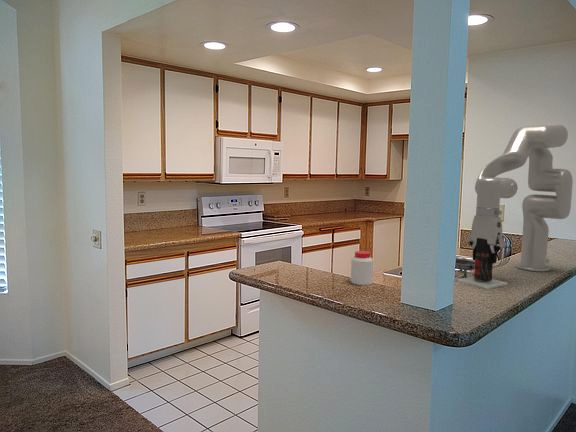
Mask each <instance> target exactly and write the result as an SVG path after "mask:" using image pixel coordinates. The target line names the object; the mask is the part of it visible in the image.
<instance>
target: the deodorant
mask: <svg viewBox="0 0 576 432" xmlns="http://www.w3.org/2000/svg"><path fill="white" fill-rule="evenodd" d="M490 253H491V249H490V245H489V244H488V243H487V240H486V239H480V238H477V242H476V256H475V260H474V261H475V269H474V272H473V274H474V276H473V277H474V278H475V279H477V280H482V281H491V280H492V279H493V270H494V269H493V266H494V264H490V263H489V256H490Z"/></svg>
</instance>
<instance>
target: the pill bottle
mask: <svg viewBox="0 0 576 432" xmlns="http://www.w3.org/2000/svg"><path fill="white" fill-rule="evenodd" d="M373 270H374V259H373V258H372V257H371V252H370V251H368V250H367V251H366V250H357V251H354V256H353V257H352V258H351V267H350V283H352V284H353V285H360V286H368V285H372V284H373V275H374V274H373V273H374V271H373Z"/></svg>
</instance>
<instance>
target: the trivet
mask: <svg viewBox="0 0 576 432" xmlns="http://www.w3.org/2000/svg"><path fill="white" fill-rule="evenodd" d="M457 282H459V283H462V284H466V285H470V286H473V287H478V288H481V289H484V290H490V289H494V288H500V287H504V286H508V282H506V281H502V280H497V279H493V278H492V280H491V281H482V280H477V279H475V278H474V276H470V277H469V276H468V278H462V277H461V278H458V279H457Z"/></svg>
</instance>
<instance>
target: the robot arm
mask: <svg viewBox="0 0 576 432" xmlns="http://www.w3.org/2000/svg"><path fill="white" fill-rule="evenodd" d="M568 137H569V132H568V129H567V127H566V126H564V125H562V124H554V125H553V124H551V125H548V124H547V125H545V124H544V125H543V124H542V125H531V126H529V125H527V126H521V127H518V128H516V129H515V130H514V132H513V134H512V136H511V137H510V139H509V141H508V144H507V145H506V147H505V149H504V151H503V153H502V154H501V155H500V156H498V157H496V158H494V159H493V160H491V161H490V162H489V163H487V164H486V165H484V167H482V170H481V171H480V173H479V175H478V177H477V178H476V181H475V186H474V192H475V193H476V195H477V197H476V209H475V215H474V217H473V220H472V224H471V229H470V230H471V232H470V233H469V235H467V237H466V238H465V239H466V241H467V242H468V244H469V246H470V248H471V249H472V261H475V256H476V242H477V238H480V239H486V240H487V243H488V244H489V245H490V249H491V253H490V256H489V263H490V264H493V265H494V264H497V260H498V259H497V258H498V253H499V252H500V251H501V250H502V249H503V248H504V247H506V246H507V242H506V241H505V240H504V239H503V223H502V218H501V217H500V215H502V214H503V211H502V210H500V202H501V201H500V200H501V199H511V198H512V197H514V196H515V195H516V194H517V193H518V183H517V182H516V181H515V179H512V178H510V177H497V176H500V175H502V174H505V173H507V172H511V171H513V170H516V169H519V168H521V167H523V166H524V165H525V164H526V162H527V161H528V174H527V185H528V188H529V190H531V191H536V192H545V193H546V192H549V193H550V192H551V193H555V195H552V194H551V195H550V194H540V193H539V194H537V193H536V194H529V195H526V196H525V197H524V198H523V200H522V203H521V205H522V206H521V209H522V216H523V217H522V218H523V219H522V220H523V221H522V222H523V225H522V226H523V227H522V235H521V236H522V237H521V250H520V260H519V261H520V262H517V263H516V264H515V267H516V268H517V269H520V270H524V271H530V272H549V271H550V268H551V267H550V266H548V265H547V264H548V263H550V262H551V260H550V258H548V257H547V254H548V243H549V232H550V229H549V226H548V224H547V222H546V220H545V219H551V220H553V219H554V220H565V219H567V218H568V217H569V216H570V213H571V209H572V208H571V207H572V195H573V183H574V181H573V175H572V172H571V171H570V170H569V169H565V168H553V159H554V158H553V157H554V155H553V153H552V151H551V150H550V149H551V148H552V149H553V148H560V147H561V148H562V146H564V145H565V144H566V143H567V141H568Z"/></svg>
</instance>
